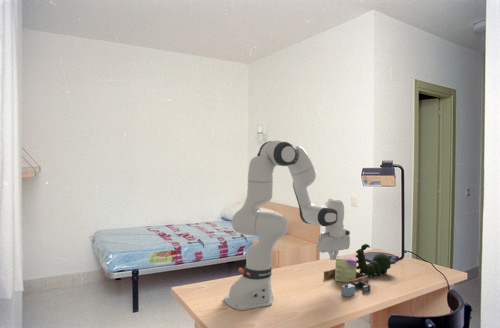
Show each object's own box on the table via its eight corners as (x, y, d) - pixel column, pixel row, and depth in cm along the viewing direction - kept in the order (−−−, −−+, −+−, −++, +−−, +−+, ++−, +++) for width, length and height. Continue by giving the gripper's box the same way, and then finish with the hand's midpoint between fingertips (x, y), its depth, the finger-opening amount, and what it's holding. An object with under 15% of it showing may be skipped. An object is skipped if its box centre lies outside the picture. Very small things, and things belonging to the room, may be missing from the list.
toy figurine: (365, 283, 183) (398, 273, 194) (364, 248, 182) (397, 239, 193) (352, 277, 192) (385, 267, 203) (351, 243, 190) (384, 235, 201)
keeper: (364, 293, 166) (364, 287, 166) (353, 289, 171) (353, 283, 171) (370, 291, 169) (370, 285, 169) (359, 287, 174) (360, 281, 174)
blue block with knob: (346, 297, 161) (346, 286, 161) (341, 294, 163) (341, 284, 163) (354, 294, 164) (355, 283, 164) (349, 292, 167) (349, 281, 167)
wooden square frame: (350, 289, 170) (350, 281, 170) (323, 278, 184) (324, 271, 184) (368, 283, 179) (368, 275, 179) (341, 273, 193) (342, 266, 192)
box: (355, 279, 184) (356, 257, 183) (355, 283, 178) (356, 260, 178) (335, 277, 187) (335, 255, 186) (334, 281, 181) (335, 258, 181)
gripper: (324, 234, 166) (323, 263, 166) (352, 231, 177) (351, 258, 177) (314, 232, 171) (313, 260, 171) (342, 229, 183) (341, 255, 183)
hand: (333, 259), depth 174 cm, fingers closed
